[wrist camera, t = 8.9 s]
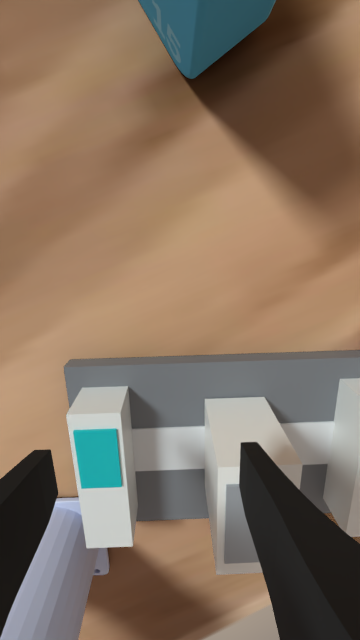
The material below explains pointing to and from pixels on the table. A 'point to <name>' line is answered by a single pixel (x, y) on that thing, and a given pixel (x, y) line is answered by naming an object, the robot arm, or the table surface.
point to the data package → (203, 28)
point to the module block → (223, 474)
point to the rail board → (189, 432)
